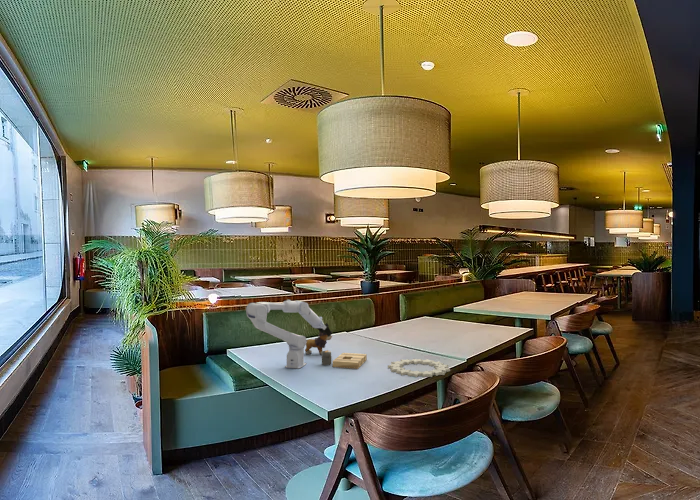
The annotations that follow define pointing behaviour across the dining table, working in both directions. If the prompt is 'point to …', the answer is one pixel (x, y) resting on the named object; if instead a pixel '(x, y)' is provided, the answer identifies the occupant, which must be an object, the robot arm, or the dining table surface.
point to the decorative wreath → (439, 370)
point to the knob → (326, 358)
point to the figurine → (317, 343)
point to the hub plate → (349, 360)
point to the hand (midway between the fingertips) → (326, 332)
